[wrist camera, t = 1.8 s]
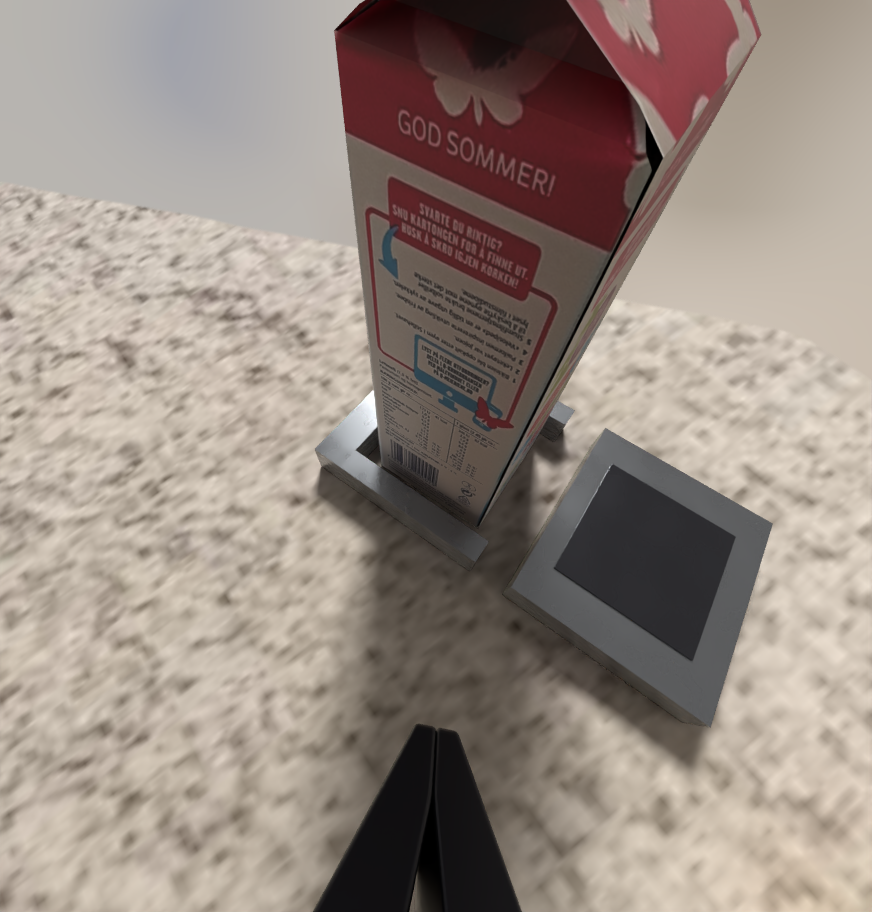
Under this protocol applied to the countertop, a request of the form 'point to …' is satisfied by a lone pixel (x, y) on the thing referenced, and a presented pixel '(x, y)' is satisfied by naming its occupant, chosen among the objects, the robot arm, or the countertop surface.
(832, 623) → the countertop surface
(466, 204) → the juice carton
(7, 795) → the countertop surface
